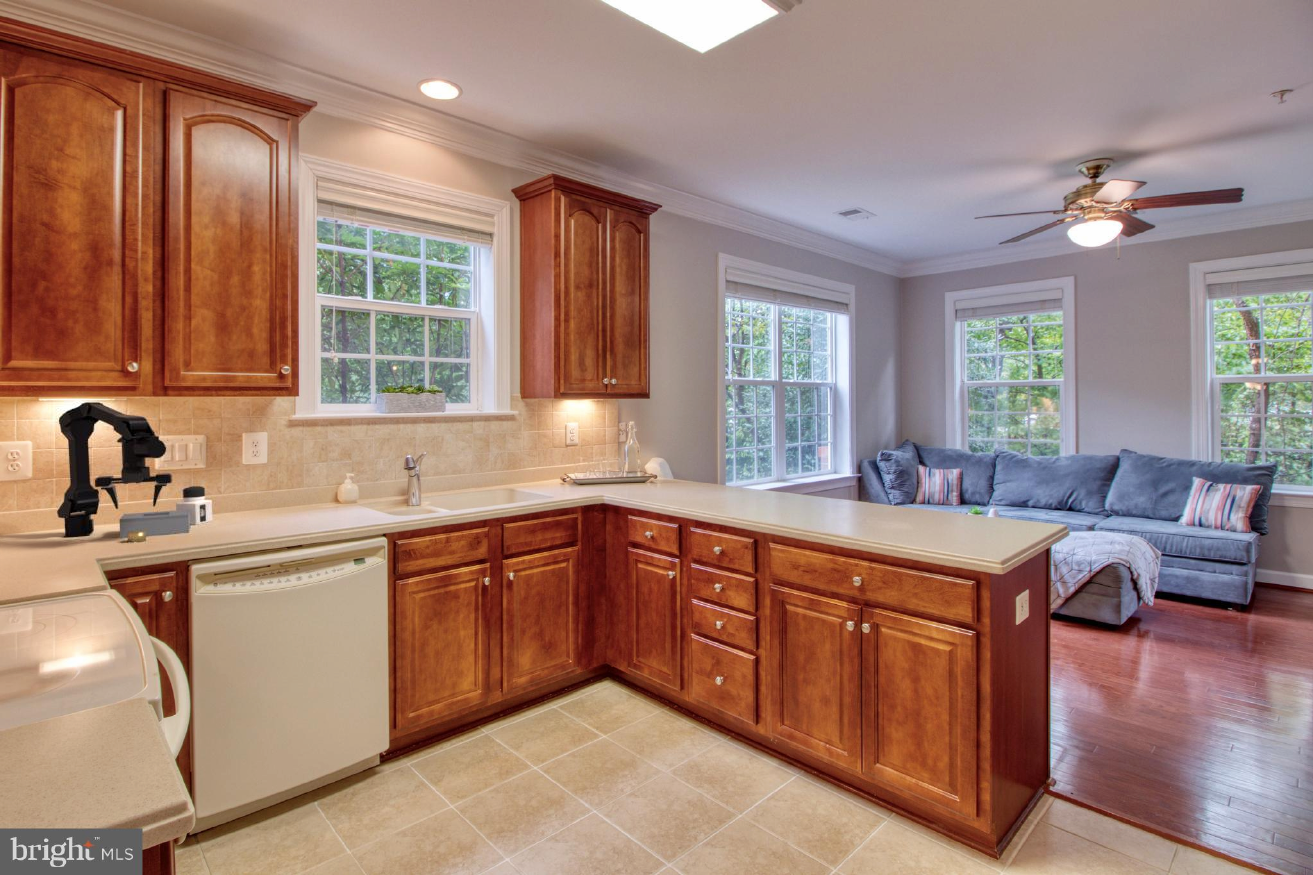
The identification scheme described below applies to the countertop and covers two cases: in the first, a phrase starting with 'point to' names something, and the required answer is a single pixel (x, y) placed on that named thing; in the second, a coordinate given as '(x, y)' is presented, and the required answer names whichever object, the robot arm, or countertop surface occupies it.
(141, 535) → the gold short cylinder
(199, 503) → the container
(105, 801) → the countertop surface
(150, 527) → the box
